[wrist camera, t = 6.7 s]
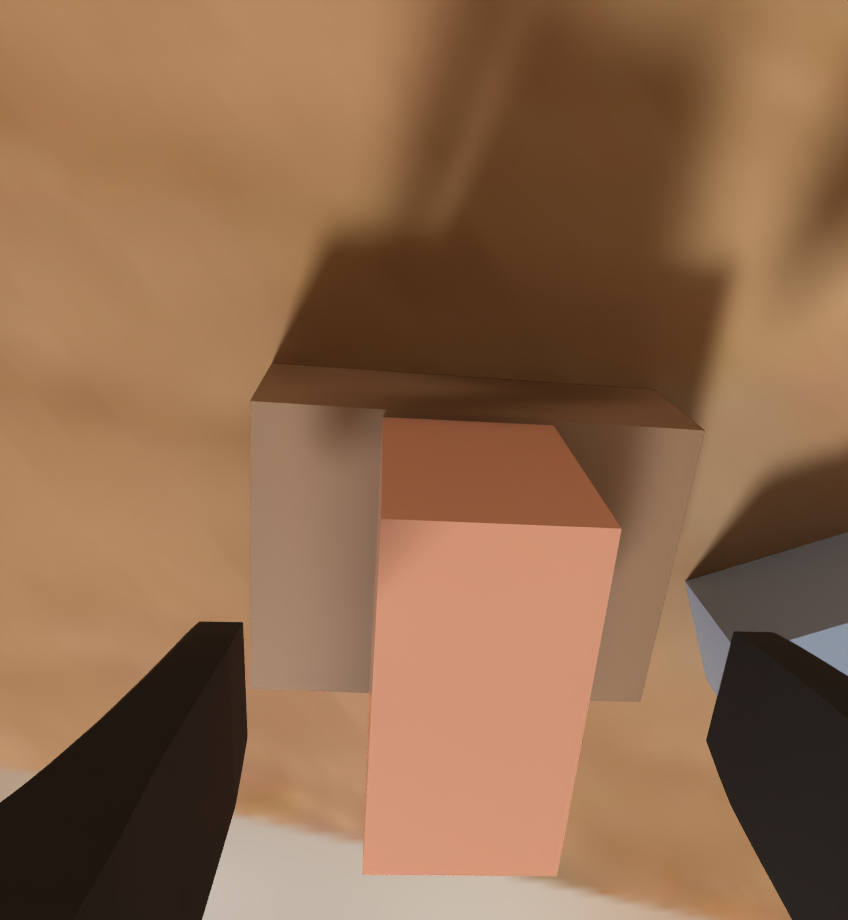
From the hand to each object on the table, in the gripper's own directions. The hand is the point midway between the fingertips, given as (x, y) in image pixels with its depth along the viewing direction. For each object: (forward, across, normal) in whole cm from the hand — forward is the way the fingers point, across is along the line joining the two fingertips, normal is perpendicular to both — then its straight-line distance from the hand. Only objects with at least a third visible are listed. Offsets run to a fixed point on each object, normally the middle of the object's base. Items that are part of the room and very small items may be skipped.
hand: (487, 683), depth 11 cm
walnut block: (+6, 0, 0) cm, 6 cm away
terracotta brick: (+3, 0, 0) cm, 3 cm away
